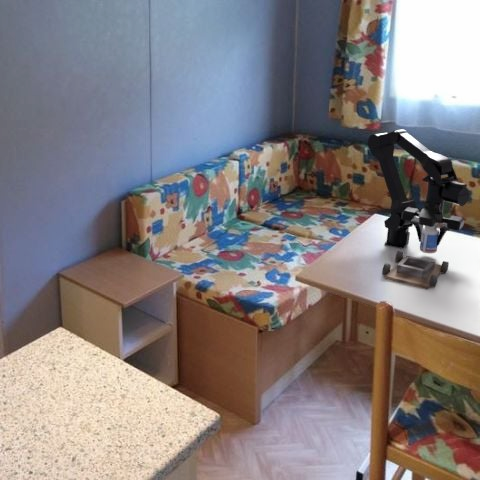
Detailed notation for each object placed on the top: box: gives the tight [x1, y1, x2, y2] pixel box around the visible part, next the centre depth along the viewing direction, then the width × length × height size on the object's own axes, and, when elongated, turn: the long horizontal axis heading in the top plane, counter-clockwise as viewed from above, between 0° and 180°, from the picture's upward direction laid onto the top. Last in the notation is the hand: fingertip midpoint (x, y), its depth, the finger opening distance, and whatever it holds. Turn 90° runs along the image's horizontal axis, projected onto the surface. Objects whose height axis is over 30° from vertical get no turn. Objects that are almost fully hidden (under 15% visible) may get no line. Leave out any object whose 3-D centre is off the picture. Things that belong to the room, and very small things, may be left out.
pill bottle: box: [419, 223, 440, 254], centre depth 218 cm, size 6×5×10 cm
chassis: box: [381, 250, 450, 290], centre depth 207 cm, size 16×18×4 cm
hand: (428, 243), depth 219 cm, fingers closed on pill bottle, 5 cm apart
